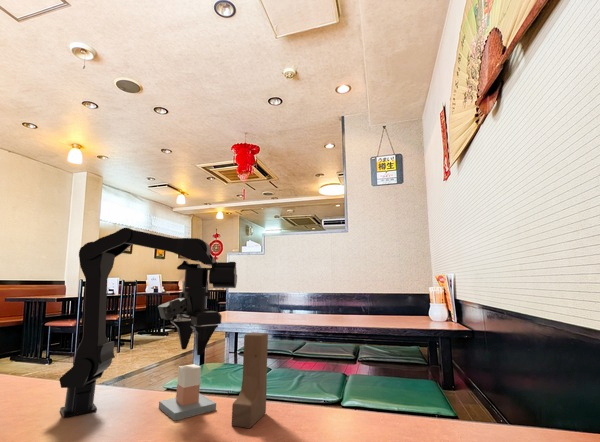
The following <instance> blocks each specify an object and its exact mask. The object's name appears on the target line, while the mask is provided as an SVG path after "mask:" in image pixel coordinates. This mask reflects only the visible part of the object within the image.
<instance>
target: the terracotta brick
mask: <svg viewBox="0 0 600 442" xmlns="http://www.w3.org/2000/svg"><path fill="white" fill-rule="evenodd" d="M200 386H201V384H200V385H196V386H191V387H186V388H183V387H182V386H180V385H178V384H177V385H176V392H175V393H176V394H175V395H176V397H175V398H176V402H177V403H179V404H180V405H182V406H185V405H189V404H193V403H198V402H199V393H200V388H201V387H200Z"/></svg>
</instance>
